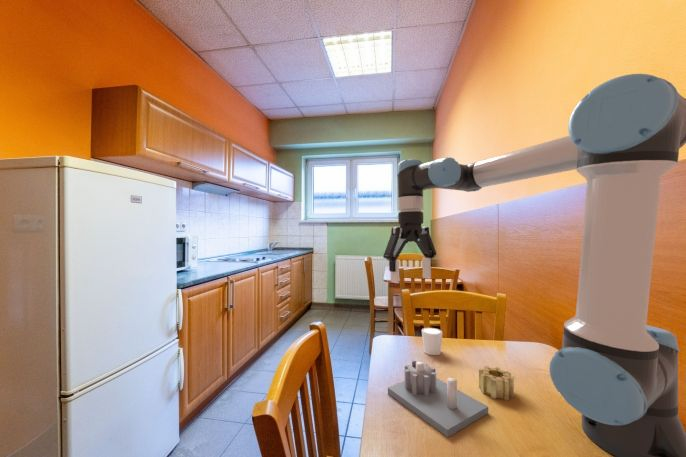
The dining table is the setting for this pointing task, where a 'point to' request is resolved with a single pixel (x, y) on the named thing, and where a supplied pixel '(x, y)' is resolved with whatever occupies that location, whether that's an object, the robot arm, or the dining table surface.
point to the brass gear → (496, 382)
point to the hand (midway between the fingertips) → (411, 280)
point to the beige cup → (432, 340)
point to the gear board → (436, 399)
